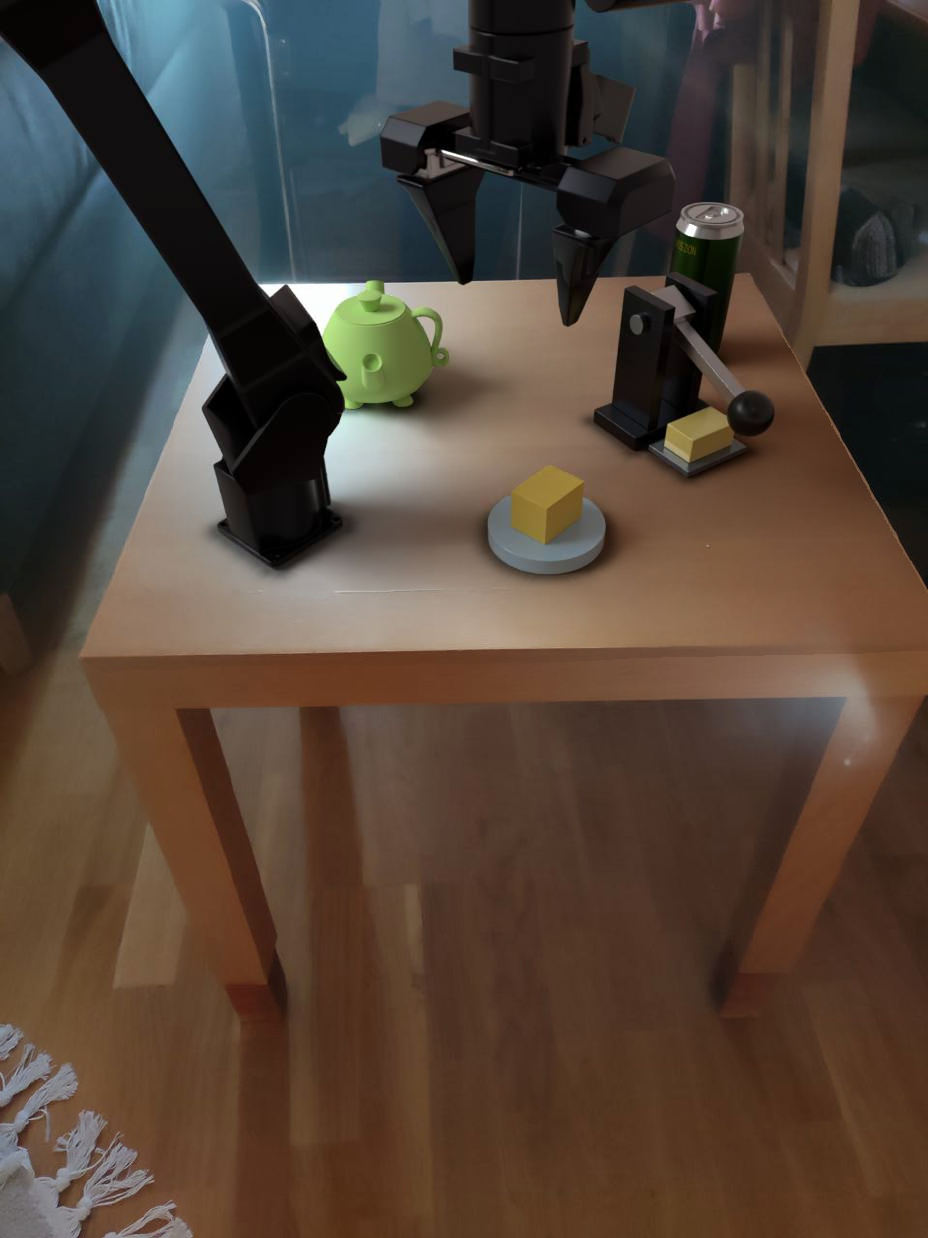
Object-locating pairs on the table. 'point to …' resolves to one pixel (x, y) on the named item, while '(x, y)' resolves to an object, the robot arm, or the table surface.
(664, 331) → the cutter
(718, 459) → the butter dish
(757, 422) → the arm
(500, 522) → the plate
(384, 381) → the teapot
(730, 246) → the beer can
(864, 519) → the table surface
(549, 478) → the butter pat
